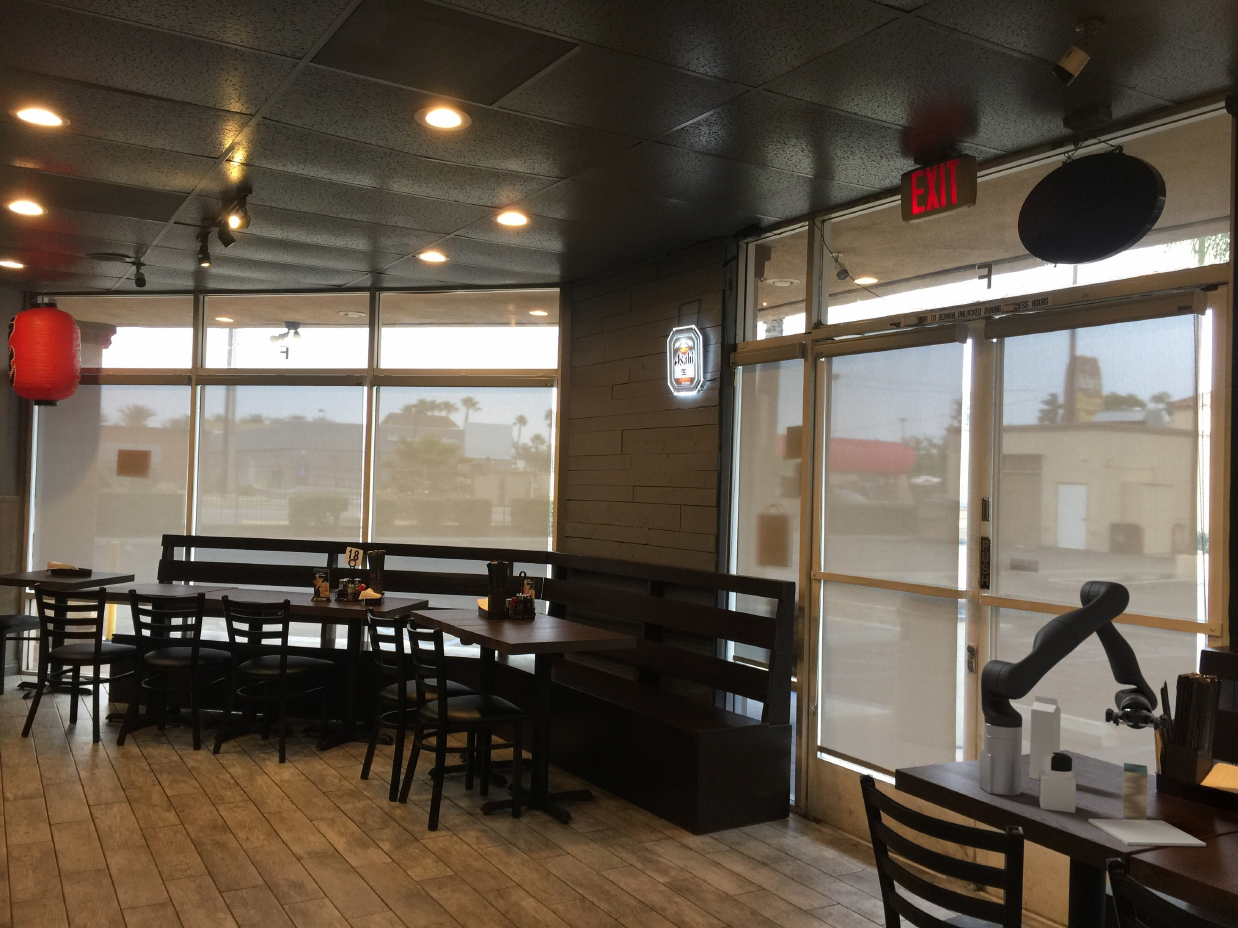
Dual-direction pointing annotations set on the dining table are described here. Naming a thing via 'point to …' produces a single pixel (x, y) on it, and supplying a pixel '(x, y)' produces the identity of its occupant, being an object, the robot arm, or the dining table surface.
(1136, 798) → the block
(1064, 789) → the container
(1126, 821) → the mat
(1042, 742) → the milk
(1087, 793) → the dining table surface
